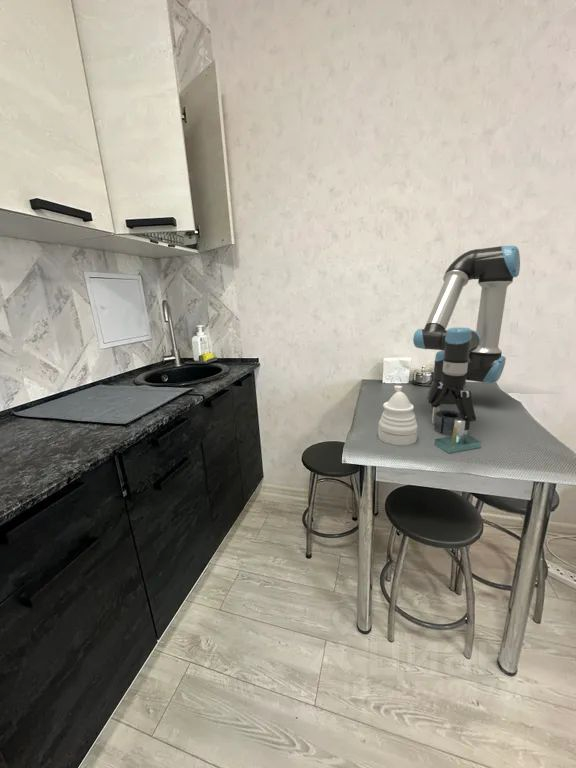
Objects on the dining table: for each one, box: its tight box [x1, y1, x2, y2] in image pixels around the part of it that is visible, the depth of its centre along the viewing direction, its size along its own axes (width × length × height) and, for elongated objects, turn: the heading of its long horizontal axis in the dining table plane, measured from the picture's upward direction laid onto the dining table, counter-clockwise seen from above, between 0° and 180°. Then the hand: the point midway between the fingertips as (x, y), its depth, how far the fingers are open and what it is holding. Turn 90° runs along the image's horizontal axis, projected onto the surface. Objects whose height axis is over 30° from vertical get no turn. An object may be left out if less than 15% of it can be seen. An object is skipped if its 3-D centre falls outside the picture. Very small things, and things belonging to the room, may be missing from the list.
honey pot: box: [377, 385, 419, 446], centre depth 108 cm, size 13×13×18 cm
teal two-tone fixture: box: [434, 419, 482, 454], centre depth 101 cm, size 12×6×9 cm, turn 104°
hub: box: [433, 409, 462, 437], centre depth 113 cm, size 9×9×6 cm
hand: (448, 430), depth 114 cm, fingers open, 13 cm apart
